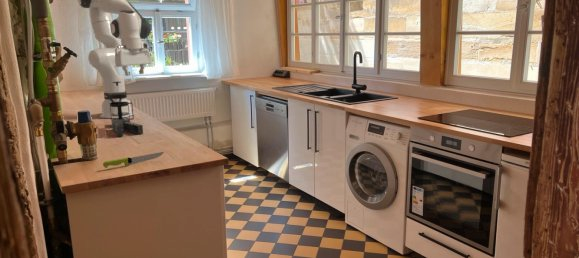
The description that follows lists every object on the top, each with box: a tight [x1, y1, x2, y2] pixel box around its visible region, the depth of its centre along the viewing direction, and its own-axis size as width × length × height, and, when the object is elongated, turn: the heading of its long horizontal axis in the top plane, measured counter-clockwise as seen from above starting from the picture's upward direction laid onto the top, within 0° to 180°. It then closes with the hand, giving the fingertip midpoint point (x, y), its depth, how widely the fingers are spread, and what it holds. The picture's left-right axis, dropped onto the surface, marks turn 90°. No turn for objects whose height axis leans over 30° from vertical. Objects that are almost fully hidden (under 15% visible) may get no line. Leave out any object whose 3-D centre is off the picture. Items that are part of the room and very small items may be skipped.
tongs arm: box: [122, 121, 144, 135], centre depth 209 cm, size 14×2×4 cm, turn 49°
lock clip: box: [97, 123, 107, 139], centre depth 204 cm, size 9×3×4 cm, turn 24°
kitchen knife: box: [102, 151, 165, 169], centre depth 159 cm, size 22×1×3 cm, turn 127°
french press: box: [109, 81, 135, 123], centre depth 222 cm, size 12×9×23 cm
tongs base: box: [111, 117, 129, 138], centre depth 209 cm, size 19×8×6 cm, turn 24°
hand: (134, 74), depth 207 cm, fingers open, 8 cm apart
